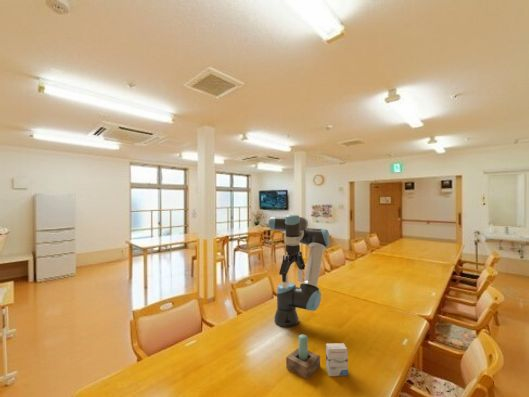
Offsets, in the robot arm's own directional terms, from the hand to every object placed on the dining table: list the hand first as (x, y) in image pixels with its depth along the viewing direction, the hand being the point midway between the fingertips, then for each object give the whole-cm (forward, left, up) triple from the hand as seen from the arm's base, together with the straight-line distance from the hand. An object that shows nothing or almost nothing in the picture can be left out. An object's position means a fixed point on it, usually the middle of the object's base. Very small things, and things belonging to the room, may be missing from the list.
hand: (292, 284), depth 135 cm
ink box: (+27, -5, -32) cm, 42 cm away
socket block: (+14, -12, -32) cm, 37 cm away
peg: (+14, -12, -32) cm, 37 cm away
